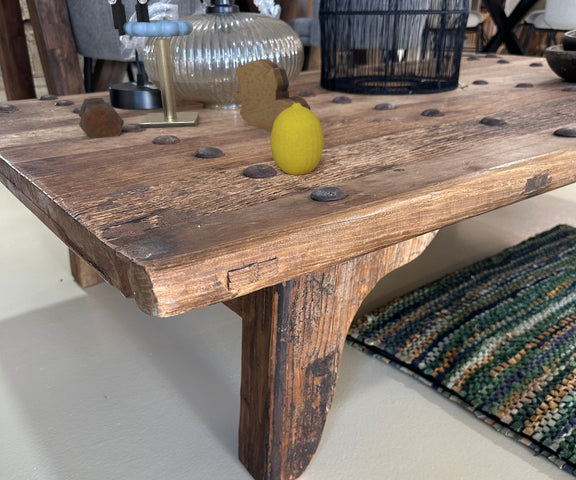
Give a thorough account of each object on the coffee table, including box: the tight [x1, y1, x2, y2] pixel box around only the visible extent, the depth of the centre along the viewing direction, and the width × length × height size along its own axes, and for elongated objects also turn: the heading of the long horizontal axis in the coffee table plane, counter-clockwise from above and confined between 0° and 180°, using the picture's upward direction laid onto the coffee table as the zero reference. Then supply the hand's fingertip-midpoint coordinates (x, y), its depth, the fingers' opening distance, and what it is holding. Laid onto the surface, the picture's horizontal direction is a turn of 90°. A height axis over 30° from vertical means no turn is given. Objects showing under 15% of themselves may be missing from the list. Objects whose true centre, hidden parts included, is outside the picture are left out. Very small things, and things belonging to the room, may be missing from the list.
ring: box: [123, 19, 194, 38], centre depth 81 cm, size 10×10×2 cm
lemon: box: [270, 103, 325, 176], centre depth 59 cm, size 6×6×8 cm
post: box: [139, 38, 200, 129], centre depth 85 cm, size 8×8×12 cm
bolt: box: [78, 97, 125, 140], centre depth 83 cm, size 6×5×15 cm
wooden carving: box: [232, 58, 312, 133], centre depth 78 cm, size 16×5×10 cm, turn 39°
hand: (133, 33), depth 82 cm, fingers closed on ring, 2 cm apart
